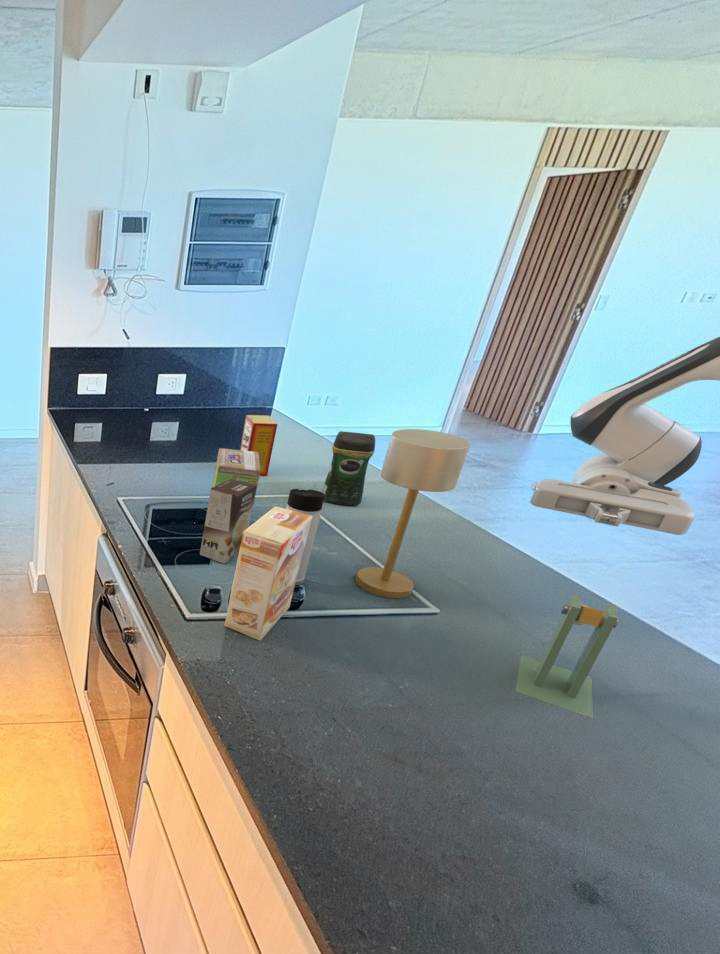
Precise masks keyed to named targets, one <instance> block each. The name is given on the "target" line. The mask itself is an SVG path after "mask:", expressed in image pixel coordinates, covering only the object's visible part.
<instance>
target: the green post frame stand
mask: <svg viewBox="0 0 720 954" xmlns="http://www.w3.org/2000/svg"><path fill="white" fill-rule="evenodd" d="M581 601H582V598H581V595H579V594H578V595H577V594H574V593H573V594H571V596H570V598H569V600H568V601H567V604H564V605H563V606H562V608H561V611H560V613H561V616H560V618H559V620H558V623H557V625H556V627H555V628H554V630H553V633H552V635H551V637H550V639H549V641H548V642H547V645H546V647H545V649H544V651H543V653H542V656H540V657H541V658H540V659H536V658H533V657H530V656H526V655H523V654H520V658H519V664H518V673H517V680H516V687H515V692H516V693H518V694H522V695H524V696H527V697H529V698H533V699H535V700H539V701H540V702H544V703H547V704H550V705H553V706H556V707H559V708H562V709H565V710H568V711H570V712H574V713H577V714H580V715H582V716H585V717H587V718H591V719H594V709H593V708H594V707H593V705H594V704H593V678H592V676H590V675H589V673H590V672H591V670H592V668H593V666H594V665H595V662H596V661H597V658H598V657H599V655H600V653H601V652H602V649H603V648H604V646H605V643H606V642H607V640H608V638H609V636H610V634H611V633H612V632H613V629H616V628H617V626H618V624H619V620H620V619H619V617H618V615H619V614H618V605H616V604H613V603H607V604H606V605H605V608H604V610H603V611H604V613H603V615H602V618H601V620H600V623H599V625H598V627H596V626H594V629H593V631H592V632H591V635H590V637H589V638H588V640H587V643H585V646H584V648H583V650H582V651H581V654H580V656H578V657H579V658H578V659H577V661H576V663H575V665H574V667H573V669H572V670H570V669H567V668H566V667H565V668H564V667H561V666H558V665H554V664H555V661H556V659H557V657H558V655H559V654H560V651H561V649H562V647H563V646H564V644H565V641H566V639H567V637H568V635H569V633H570V631H571V629H572V627H573V623H574V621H575V619H576V617H577V615H578V613H579V611H580V609H581V603H582V602H581Z"/></svg>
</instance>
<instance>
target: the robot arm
mask: <svg viewBox="0 0 720 954" xmlns="http://www.w3.org/2000/svg"><path fill="white" fill-rule="evenodd" d="M698 381H718V382H719V381H720V336H718V337H715V338H713V339H711V340H709V341H706V342H705V343H703V344H700V345H698V346H695V347H694V348H692V349H690V350H688V351H686V352H684V353H682V354H680V355H678V356H675V357H674V358H672V359H669V360H668V361H666V362H664V363H663V364H660V365H658V366H656V367H653V368H652V369H650V370H649V371H647V372H644V373H642V374H641V375H639V376H637V377H634V378H632V379H630V380H628V381H627V382H625V383H622V384H620V385H618V386H615V387H613V388H610V389H608V390H606V391H603V392H601V393H599V394H597V395H595V396H593V397H591V398H589V399H587V400H586V401H585V402H583V403H582V404H581V405H580V406H579V407H577V409H575V411H574V412H573V413H572V414H571V416H570V420H569V421H570V430H571V435H572V437H573V438H575V439H577V440H579V441H581V442H582V443H584V444H587V445H588V446H591V447H592V448H593V447H594V448H595V449H596V450H598V451H599V452H601V453H598V454H595V455H592V456H590V457H589V458H587V459H585V460H584V461H583V462H581V464H580V465H579V466H578V467H577V469H576V471H575V473H574V475H573V478H572V482H571V481H565V480H559V479H552V478H546V479H542V480H540V481H539V482H538V481H536V482H533V483H532V484H531V490H532V491H533V493H532V496H531V498H530V501H529V504H530V505H532V506H534V507H537V508H541V509H547V510H551V511H556V512H560V513H561V512H562V513H566V514H572V515H576V516H580V517H581V516H582V517H585V518H587V519H590V520H593V521H594V523H598V524H602V525H607V526H612V527H619V525H620V524H621V525H627V526H631V527H635V528H641V529H646V530H651V531H655V532H661V533H666V534H671V535H675V536H682V535H685V534H687V532H688V531H689V529H690V528H691V526H692V524H693V523H694V520H695V515H696V514H695V511H694V510H693V508H692V507H691V505H690V504H689V502H687V501H686V500H685V499H683V498H681V495H682V492H681V491H680V490H679V489H677V488H672V487H670V486H667V485H668V484H671V483H672V482H673V481H674V482H675V480H677V479H679V478H680V477H681V476H683V475H684V474H685V473H687V472H688V471H689V470H690V469H691V468H692V467H694V465H695V464H696V462H697V461H698V460H699V457H700V454H701V451H702V445H703V441H702V437H701V436H699V435H698V434H697V433H694V432H693V431H692V430H690V429H689V428H687V427H685V426H684V425H682V424H680V422H679V423H678V422H677V421H676V420H673V419H671V418H669V417H668V416H666V415H664V414H663V413H661V412H659V410H656V409H654V408H653V407H651V406H650V405H648V404H647V403H648V402H651V401H652V400H654V399H656V398H659V397H661V396H664V395H666V394H668V393H670V392H671V391H674V390H676V389H678V388H680V387H682V386H685V385H686V384H687V385H688V384H689V383H693V382H698Z"/></svg>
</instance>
